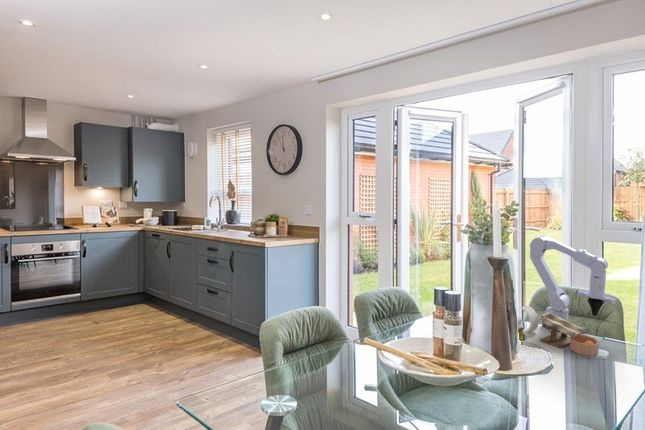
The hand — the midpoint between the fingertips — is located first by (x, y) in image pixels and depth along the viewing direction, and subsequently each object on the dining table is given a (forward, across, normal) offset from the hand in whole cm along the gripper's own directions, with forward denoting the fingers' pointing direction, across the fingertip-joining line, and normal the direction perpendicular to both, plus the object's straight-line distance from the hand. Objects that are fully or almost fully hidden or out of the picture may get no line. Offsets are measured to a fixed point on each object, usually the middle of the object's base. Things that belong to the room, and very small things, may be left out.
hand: (594, 315), depth 196 cm
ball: (+7, +6, -18) cm, 20 cm away
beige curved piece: (+6, -6, -16) cm, 18 cm away
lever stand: (+10, -6, -18) cm, 21 cm away
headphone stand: (+10, -18, -21) cm, 29 cm away
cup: (+10, +4, -18) cm, 21 cm away
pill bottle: (+10, -16, -35) cm, 40 cm away
